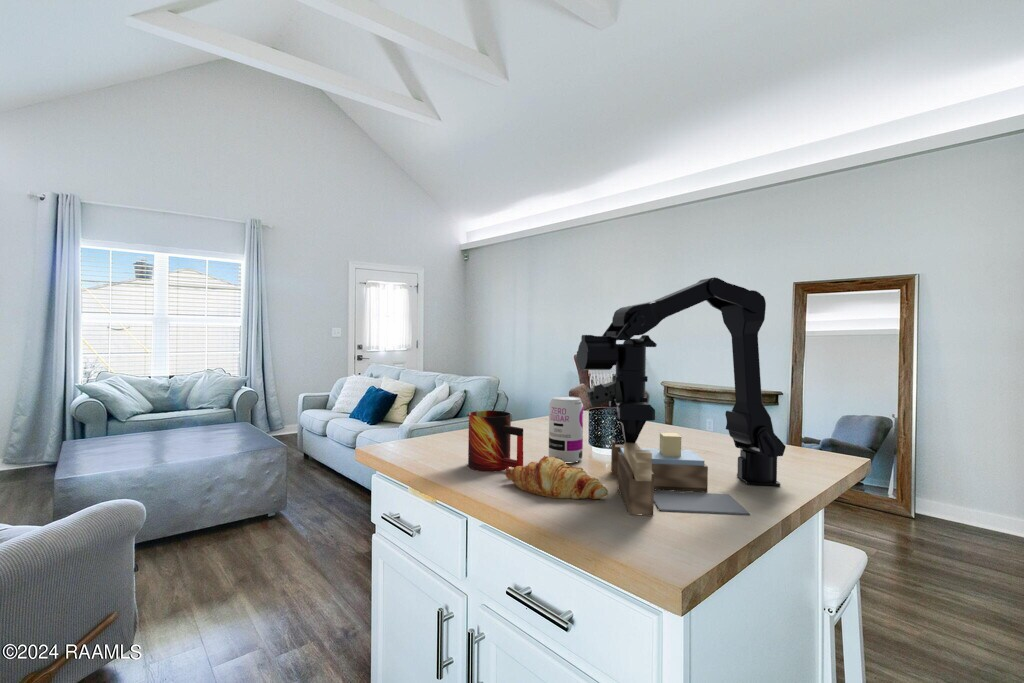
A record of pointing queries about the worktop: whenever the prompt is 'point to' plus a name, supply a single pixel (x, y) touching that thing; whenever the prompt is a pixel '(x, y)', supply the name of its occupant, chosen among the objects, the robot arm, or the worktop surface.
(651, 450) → the lid
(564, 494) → the croissant
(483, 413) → the mug
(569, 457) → the supplement can
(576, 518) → the worktop surface
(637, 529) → the worktop surface
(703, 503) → the mat
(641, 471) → the beige block
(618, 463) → the brown wooden box
